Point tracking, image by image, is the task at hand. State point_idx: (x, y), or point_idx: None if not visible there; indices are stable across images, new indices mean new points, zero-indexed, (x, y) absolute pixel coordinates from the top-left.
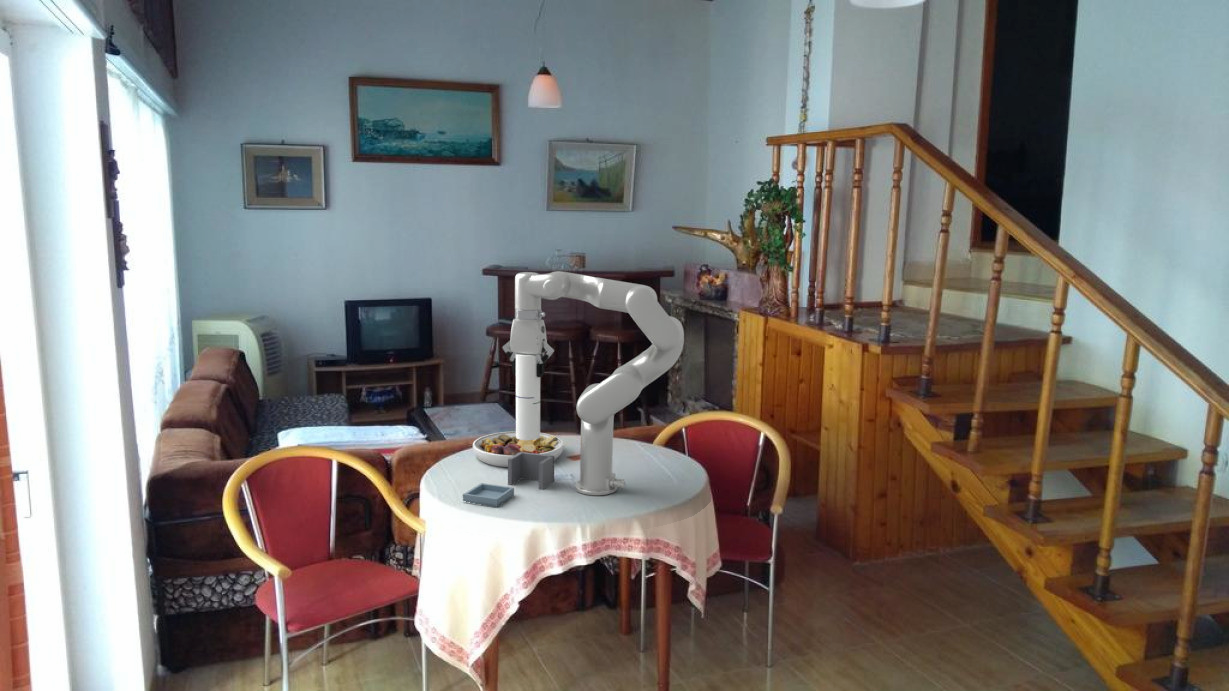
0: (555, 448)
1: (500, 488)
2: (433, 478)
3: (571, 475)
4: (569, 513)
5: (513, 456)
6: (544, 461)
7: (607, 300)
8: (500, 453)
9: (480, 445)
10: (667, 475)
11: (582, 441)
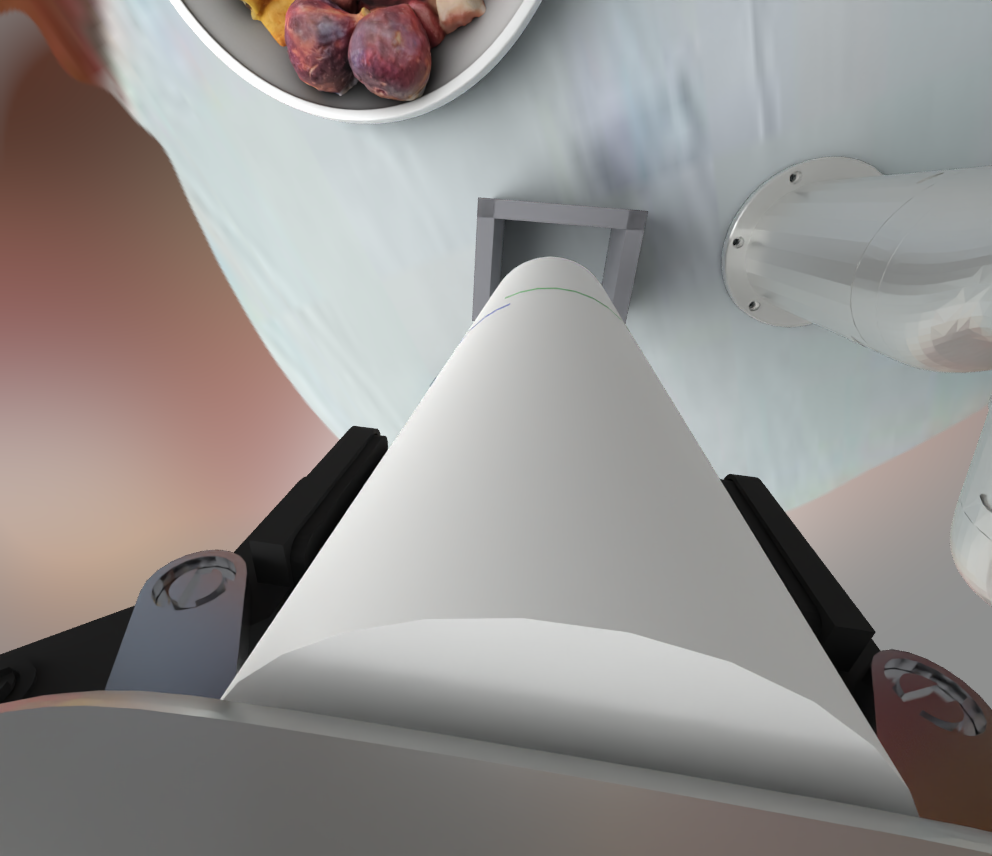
0: None
1: None
2: (247, 312)
3: (685, 102)
4: (728, 472)
5: (479, 280)
6: (623, 307)
7: None
8: (345, 80)
9: None
10: None
11: (855, 334)
